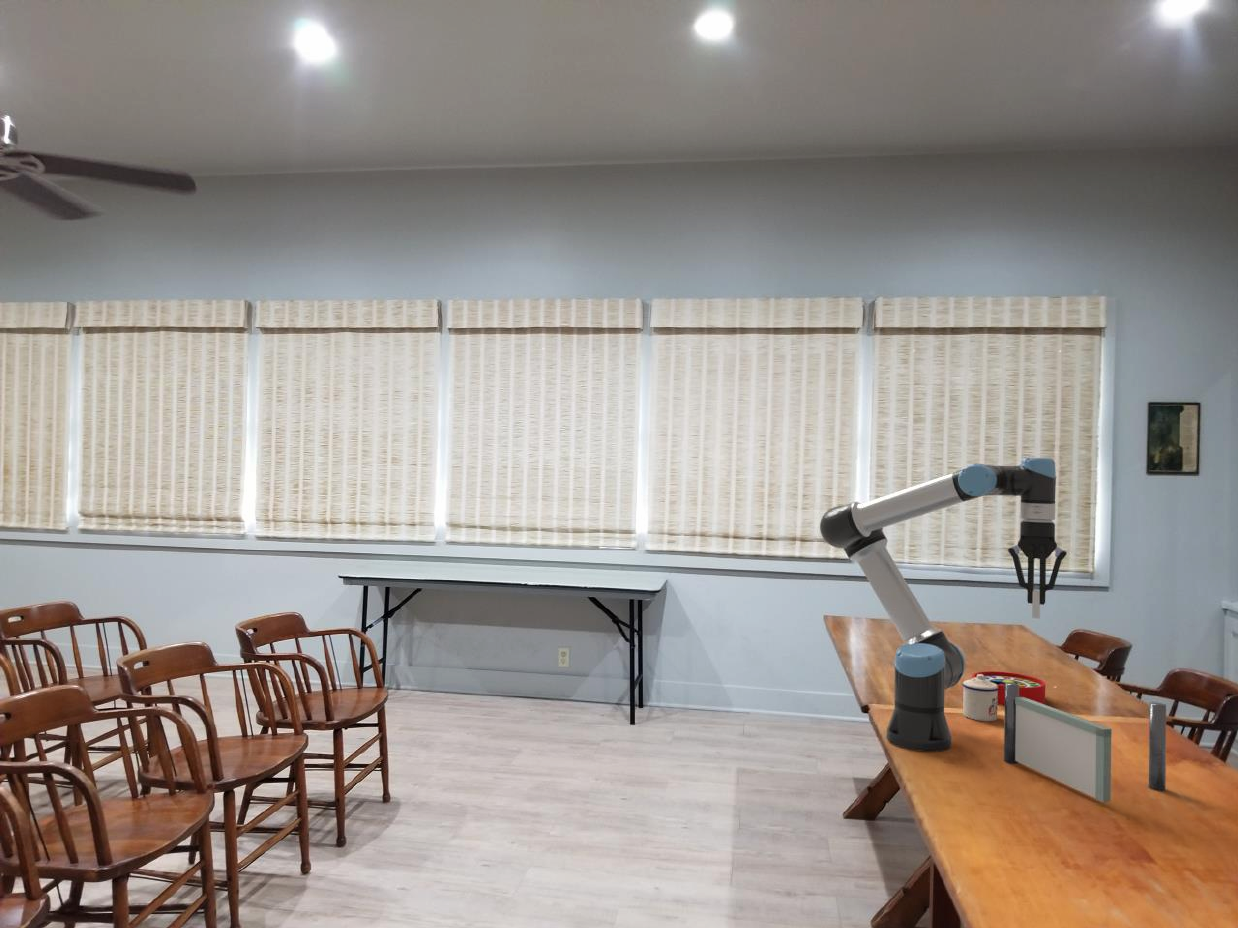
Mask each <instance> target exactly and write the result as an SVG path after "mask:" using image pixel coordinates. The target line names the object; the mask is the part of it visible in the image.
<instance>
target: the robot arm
mask: <svg viewBox="0 0 1238 928" xmlns="http://www.w3.org/2000/svg"><path fill="white" fill-rule="evenodd" d="M1056 482H1057V474H1056V462H1055V460H1054V459H1052V458H1051V457H1050V458H1049V457H1024V458H1022V459H1021V462H1020V465H991V464H985V463H984V464H983V463H973V464H969V465H967V466H965V467H963V469H960V470H957V471H955V472H951V473H949V474H945V475H943V476H940V477H937V478H933V479H931V480H927V481H924V482H922V483H919V484H915V485H913V486H910V487H907V488H904V489H902V490H897V491H896V492H892V493H890V494H886V495H883V496H881V497H877V498H875V499H872V500H869V501H866V502H863V503H861V502H858V501H854V502H851V503H848V504H844V505H839V506H838V505H837V506H834V507H831V508H830V509H828V510H827V511H826V512H824V514H823V515H822V518H821V520H820V524H819V527H820V528H819V530H820V534H821V536H822V538H823V540H824V541H825V542H826V543H827V544H828V545H830V546H832V547H834V548H836V549H843V551H844V552H845V554H846V555H847V557H848V559H849V560H850V561H852V562H856V563H858V566H860V569H861V570H862V572H863V574H864V576H865V578H866V579H867V581H868V582H869V584H870V586H871V587H872V589H873V591H874V593H875V594H876V597H877V598H878V599H879V601H880V603H881V605H882V606H883V609H884V610H885V612H886V613H887V616H889V617H888V618H890V620H891V622H892V624H893V626H894V628H895V629H896V631H897V632H898V634H899V636H900V637H901V640H902V643H903V644H902V645H901V646H899V647H898V648H897V649H896V651H895V657H894V662H893V664H894V705H893V706H894V708H893V711H892V714H891V716H890V719H889V722H888V724H887V728H886V740H887V741H888V742H889V743H891V744H893V745H894V746H897V747H900V748H904V749H907V750H912V751H917V752H934V753H935V752H944V751H947V750H949V749H951V748H952V735H951V731H950V729H949V725H948V722H947V719H946V715H945V691H946V690H948V689H950V688H952V687H954V686H956V685H957V684H958V683H959V682H960V681H961V679H962V677H963V676H964V674H965V671H966V659H965V656H964V654H963V652H962V651H961V649H960V648H959V647H958V646H957V645H955V644H954V643H952V642H950V641H949V639H948V638H947V636H946V635H945V633H944V631H943V630H942V629H940V628H938V627H935V626H934V625H933V624H932V623H931V621H930V619H929V618H928V616H927V614H926V613H925V611H924V609H923V608H922V606H921V605H920V603H919V601H918V599H917V597H916V596H915V594H914V592H913V591H912V589H911V587H910V586H909V584H908V583H907V581H906V579H905V577H904V576H903V574H902V572H901V570H900V569H899V567H898V566H897V564H896V562H895V561H894V560H893V558H892V556H891V554H890V552H889V551H888V549H887V545H888V544H887V543H888V540H889V539H888V538H887V536H886V535H885V534H884V531H883V529H884V528H885V527H889V526H893V525H895V524H898V523H901V522H904V521H908V520H911V519H914V518H917V517H921V516H923V515H926V514H930V513H932V512H936V511H939V510H943V509H945V508H948V507H951V506H954V505H958V504H961V503H964V502H967V501H971V500H974V499H977V498H981V497H984V496H1006V497H1007V496H1012V497H1013V496H1014V497H1016V496H1017V497H1019V496H1020V519H1021V522H1020V523H1019V524H1020V526H1019V527H1020V531H1019V532H1020V536H1019V540H1018V542H1017V544H1016V545H1014V546H1012V547H1009V548H1008V549H1007V551H1008V553H1009V555H1010V556H1011V557H1012V560H1013V565H1014V569H1015V573H1016V577H1017V581H1018V586H1019V587H1021V588H1023V589H1026V590H1027V599H1026V600H1027V603H1028V604H1031V605H1032V607H1031V608H1032V612H1031V615H1032V616H1031V618H1032V619H1041V618H1040V617H1041V606H1043V605H1045V604H1046V592H1047V591H1050V590H1053V589H1054V588H1055V584H1056V581H1057V579H1058V578H1057V577H1058V574H1059V571H1060V568H1061V564H1062V561H1063V559H1064V558H1065V557H1066V555H1067V554H1068V553H1067V552H1068V551H1066V550H1063V549H1062V548H1060V547H1059V546H1058V543H1057V542H1056V523H1055V522H1053V521H1054V520H1056V489H1057V487H1056V486H1057V485H1056V484H1057V483H1056ZM1020 550H1021V552H1022V553H1023V554H1024V555H1025V557H1026V558H1027V582H1026V579H1025V576H1024V571H1023V567H1022V563H1021V559H1020V556H1019V554H1020ZM1054 551H1055V553H1054ZM1053 553H1054V556H1055V557H1056V559H1055V561H1054V565H1053V568H1052V571H1051V575H1050V579H1049V582H1048V584H1046V583H1047V582H1046V580H1047V579H1046V577H1047V559H1048V558H1049V557H1050V556H1051V555H1052V554H1053ZM1035 559H1038V560H1039V590H1037V589H1034V588H1035V586H1034V585H1035V584H1034V583H1035Z"/></svg>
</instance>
